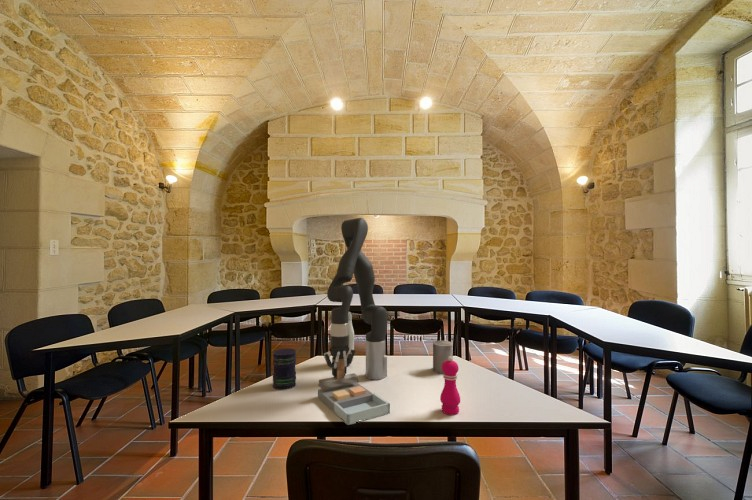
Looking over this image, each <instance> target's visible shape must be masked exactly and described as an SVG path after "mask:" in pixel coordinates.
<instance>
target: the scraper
mask: <svg viewBox="0 0 752 500" xmlns="http://www.w3.org/2000/svg"><path fill="white" fill-rule="evenodd" d="M336 368H337V377H334V376H332V377H326V378H321V379H320V378H319V379H318V387H320V389H326V388H331V387H336V386H341V385H346V384H352V383H359V382H360V379H359V378H360V376H359V375H358V374H356V373H355V372H354V373H348V374H347V373H346V374H345V376H344V373H345V361H344V359H343V358H342V359H338V362H337V367H336Z"/></svg>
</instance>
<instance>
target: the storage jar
mask: <svg viewBox="0 0 752 500" xmlns="http://www.w3.org/2000/svg"><path fill="white" fill-rule="evenodd" d="M296 352H297V351H296V348H295V349H294V348H278V349H276V350H274V351H273V352H272V362H273V363H272V366H273V373H272V384H273V385H272V388H273V389H274V390H278V391H285V390H290V389H293V388H294V387H296V385H297V384H296V381H297V372H296V363H297V353H296Z"/></svg>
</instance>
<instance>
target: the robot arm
mask: <svg viewBox="0 0 752 500" xmlns="http://www.w3.org/2000/svg"><path fill="white" fill-rule="evenodd" d="M340 228H341V234H342V239H343V241H344V244H345V247H346V251H344V253H343V255H342V256H341V258H340V260H339V263H338V265H337V270H336V273H335V275H334V277H333V279H332V281H331V282H330V284H329V287H328V288H327V291H326V292H327V293H326V296H327V300H329V302H332V303H341V305H340V306H339V307H333V308H332V309H331V314H330V315H331V316H330V317H331V320H330V321H331V322H330V335H329V336H330V337H329V338H330V347H329V350H328V351H327V352H324V353H323V358H324V359H325V360H324V361H325V363H326V365H327V366H328V367H329V368H331V375H332V377H337V368H336V367H337V362H338V359H342V358H343V359H344V361H345V373H344V376H345V375H347V373H348V371H347V366H350V365H351V364H352V363H353V361H352V359H353V360H354V357H355V353H356V350H355V349H354V350H353V349H349V346H348V345H349V325H348V313H349V312H350V308H351V304H352V301H353V297H354V291H353V290H354V289H353V288H352V286H351V285H345V283H349V282H352V280H353V278H354V280H355V283H356V287H357V292H358V295H359V296H358V297H359V301H360V308H361V316H362V318H363V321H364V323H366V324H368V325H370V326H371V327H370V329H371V331H369V332H366V334H365V378H367V379H368V380H374V381H375V380H382V379H385V378H386V377H388V356H387V355H386V336H387V333H388V321H389V320H388V317H389V316H388V311H387V310H386V308H385V307H383V306H380V305H376V304H375V301H374V296H373V291H374V286H375V283H376V282H375V281H376V277H375V272H374V267H373V264H372V262H371V261H370V260H369V258H368V257H367V256H366V255H365V253H363V252H362V248H363V246H364V244H365V240H366V237H367V235H368V232H369V231H368V230H369V226H368V222H367V221H366V220H365V218H363V217H356V218H351V219H346V220H344V221H342V223H341V227H340ZM353 276H354V277H353ZM347 353H349V354H348V357H347V358H346V355H347ZM353 356H354V357H353ZM330 357H331V358H330ZM351 362H352V363H351Z"/></svg>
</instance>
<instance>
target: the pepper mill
mask: <svg viewBox="0 0 752 500" xmlns="http://www.w3.org/2000/svg"><path fill="white" fill-rule="evenodd" d="M453 359H454V358H452V357H451V356H449V357H448V360H447V361H445V362H444V363H443V364H442V370H443V372H444V374H443V373H442V375H443V379H444V383H443V385H444V386H443V389H442V391H441V394H440V398H439V399H440V400H439V401H440V402H441V412H442V413H443V414H446V415H449V416H451V415H452V416H455V415H457V414H459V413H460V406H459V405H460V404H461V396H460V393H459V391H458V388H457V379H458V374H457V373H458V372H459V364H458V362H456V361H454V360H453ZM452 360H453V361H452Z"/></svg>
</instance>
